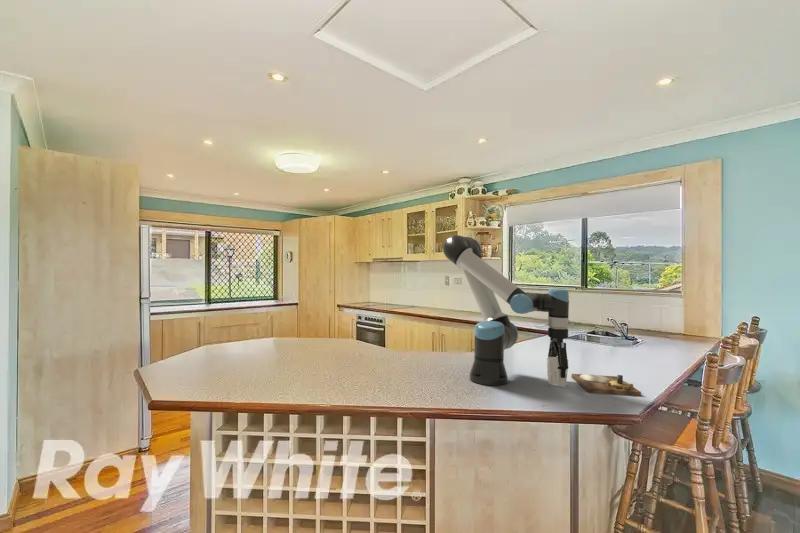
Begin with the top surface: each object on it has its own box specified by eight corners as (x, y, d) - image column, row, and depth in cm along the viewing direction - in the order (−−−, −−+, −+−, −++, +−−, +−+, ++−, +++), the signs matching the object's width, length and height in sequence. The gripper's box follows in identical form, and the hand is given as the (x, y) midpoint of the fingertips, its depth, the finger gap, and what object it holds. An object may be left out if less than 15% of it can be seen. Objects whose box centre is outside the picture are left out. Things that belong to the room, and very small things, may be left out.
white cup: (564, 381, 154) (564, 357, 155) (570, 387, 147) (571, 361, 147) (544, 380, 155) (544, 356, 155) (549, 386, 147) (550, 360, 148)
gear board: (588, 392, 141) (589, 377, 141) (571, 377, 162) (571, 363, 162) (640, 396, 138) (641, 380, 138) (616, 380, 159) (616, 366, 159)
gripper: (578, 333, 138) (577, 391, 138) (559, 324, 163) (558, 373, 163) (556, 332, 139) (555, 389, 139) (541, 323, 164) (540, 372, 164)
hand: (557, 380), depth 151 cm, fingers open, 13 cm apart
